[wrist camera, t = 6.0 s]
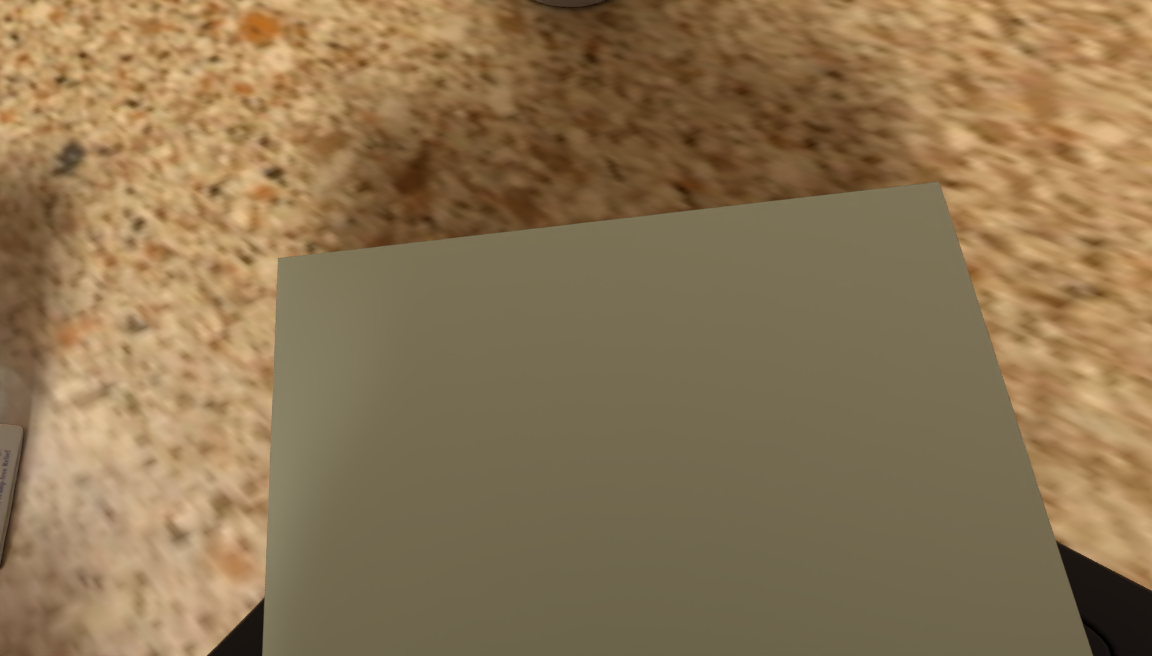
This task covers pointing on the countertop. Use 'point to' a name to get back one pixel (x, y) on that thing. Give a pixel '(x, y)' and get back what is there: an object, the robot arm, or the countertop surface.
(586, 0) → the travel mug
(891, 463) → the sage block
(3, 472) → the medicine box
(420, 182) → the countertop surface
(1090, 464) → the countertop surface
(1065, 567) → the robot arm
